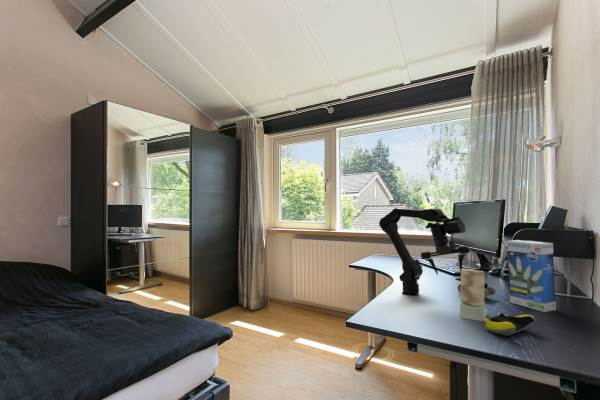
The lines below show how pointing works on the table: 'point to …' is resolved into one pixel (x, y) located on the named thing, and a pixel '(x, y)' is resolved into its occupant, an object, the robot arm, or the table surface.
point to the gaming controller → (508, 323)
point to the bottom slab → (473, 316)
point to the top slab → (472, 309)
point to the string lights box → (531, 274)
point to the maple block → (472, 287)
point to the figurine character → (487, 289)
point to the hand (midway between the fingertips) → (449, 273)
